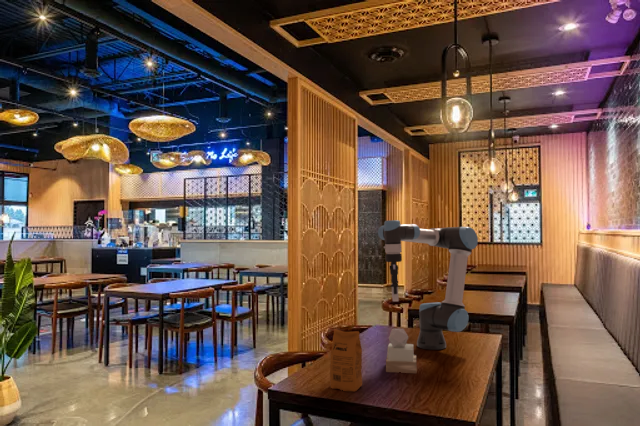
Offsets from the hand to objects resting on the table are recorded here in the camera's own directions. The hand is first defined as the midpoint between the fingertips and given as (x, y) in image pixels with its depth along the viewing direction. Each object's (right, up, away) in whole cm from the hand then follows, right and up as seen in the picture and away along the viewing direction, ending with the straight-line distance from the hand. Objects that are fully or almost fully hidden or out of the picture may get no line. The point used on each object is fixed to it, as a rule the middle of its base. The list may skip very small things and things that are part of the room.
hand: (395, 299), depth 207 cm
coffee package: (-25, -28, -34) cm, 50 cm away
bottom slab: (+1, -30, -9) cm, 31 cm away
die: (0, -20, -8) cm, 21 cm away
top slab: (+1, -25, -8) cm, 26 cm away
